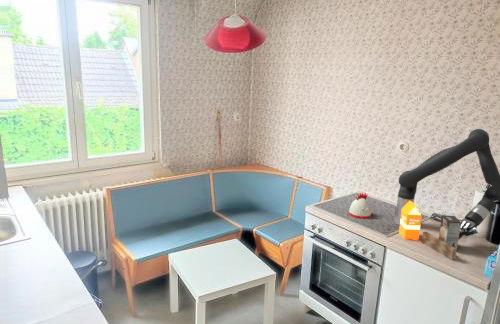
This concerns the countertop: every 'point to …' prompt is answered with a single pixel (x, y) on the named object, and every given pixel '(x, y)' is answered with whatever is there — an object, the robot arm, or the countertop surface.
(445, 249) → the walnut board
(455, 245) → the coffee box
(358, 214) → the kitchen timer
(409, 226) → the orange juice
